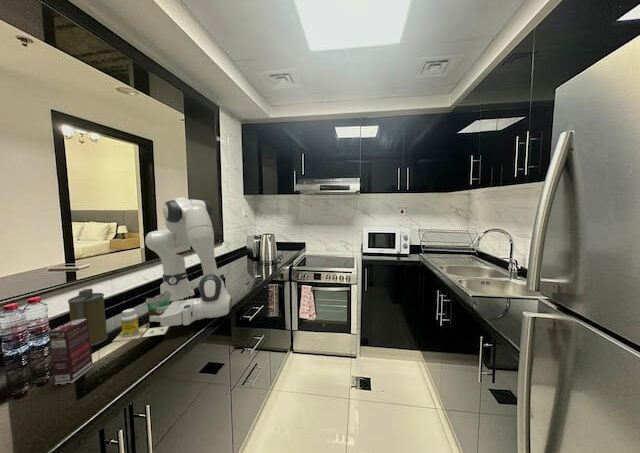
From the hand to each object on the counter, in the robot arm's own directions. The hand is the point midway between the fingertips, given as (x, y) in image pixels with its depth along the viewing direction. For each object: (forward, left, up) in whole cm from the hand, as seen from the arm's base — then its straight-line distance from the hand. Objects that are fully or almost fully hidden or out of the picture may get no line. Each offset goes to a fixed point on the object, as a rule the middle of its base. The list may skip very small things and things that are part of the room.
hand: (153, 314), depth 110 cm
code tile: (0, 0, -7) cm, 7 cm away
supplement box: (+26, -15, -7) cm, 31 cm away
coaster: (0, -9, -7) cm, 11 cm away
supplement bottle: (0, -9, -7) cm, 11 cm away
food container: (-19, -2, -7) cm, 21 cm away
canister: (+1, -22, -7) cm, 23 cm away
